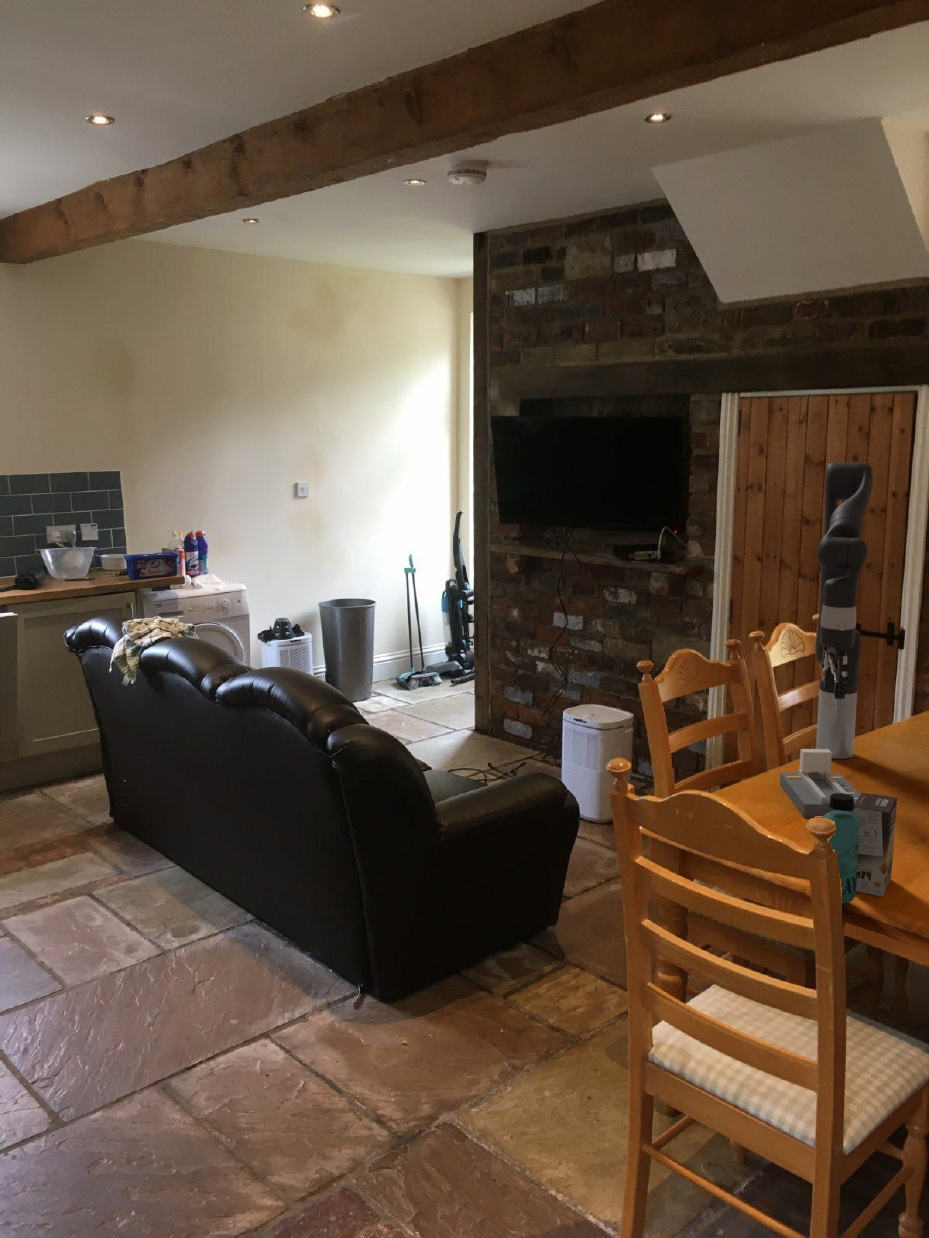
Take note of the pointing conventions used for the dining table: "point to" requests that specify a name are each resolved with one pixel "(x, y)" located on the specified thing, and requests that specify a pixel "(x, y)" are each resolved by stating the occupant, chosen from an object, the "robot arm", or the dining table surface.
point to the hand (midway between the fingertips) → (834, 693)
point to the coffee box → (875, 842)
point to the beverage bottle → (845, 842)
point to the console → (815, 791)
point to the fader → (815, 762)
